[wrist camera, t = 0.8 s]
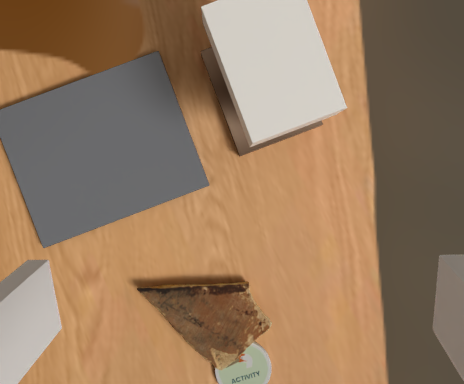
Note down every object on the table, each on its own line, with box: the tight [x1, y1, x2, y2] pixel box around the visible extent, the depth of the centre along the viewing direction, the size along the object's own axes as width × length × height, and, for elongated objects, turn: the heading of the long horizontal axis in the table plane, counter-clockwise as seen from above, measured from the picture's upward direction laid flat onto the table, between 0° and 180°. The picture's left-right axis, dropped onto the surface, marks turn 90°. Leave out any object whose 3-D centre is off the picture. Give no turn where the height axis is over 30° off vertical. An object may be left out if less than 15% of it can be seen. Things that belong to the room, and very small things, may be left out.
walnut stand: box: [201, 47, 323, 156], centre depth 36 cm, size 10×8×7 cm
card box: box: [201, 0, 347, 147], centre depth 31 cm, size 10×7×3 cm
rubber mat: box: [0, 51, 209, 248], centre depth 39 cm, size 16×13×1 cm
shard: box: [137, 281, 272, 371], centre depth 39 cm, size 11×8×2 cm
